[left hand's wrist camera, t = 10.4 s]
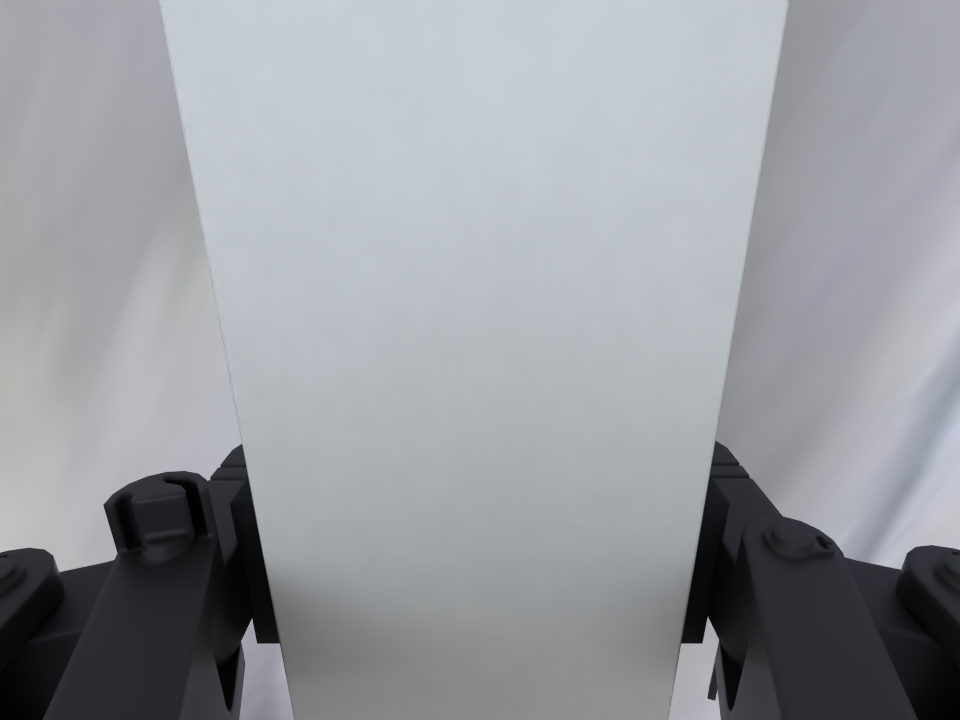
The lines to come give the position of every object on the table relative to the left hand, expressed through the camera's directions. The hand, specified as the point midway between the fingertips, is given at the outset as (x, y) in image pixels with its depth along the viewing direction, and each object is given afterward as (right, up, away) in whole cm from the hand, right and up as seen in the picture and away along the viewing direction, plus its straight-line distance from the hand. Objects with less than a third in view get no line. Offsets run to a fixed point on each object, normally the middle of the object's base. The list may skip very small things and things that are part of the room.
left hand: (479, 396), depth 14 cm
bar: (0, +22, -8) cm, 24 cm away
